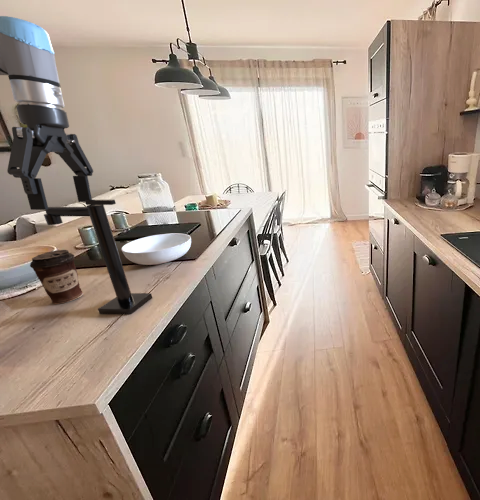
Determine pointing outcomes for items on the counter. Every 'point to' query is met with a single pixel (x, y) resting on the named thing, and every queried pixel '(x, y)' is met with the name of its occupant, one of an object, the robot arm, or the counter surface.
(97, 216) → the tap
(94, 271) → the counter surface
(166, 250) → the serving bowl
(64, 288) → the coffee cup
